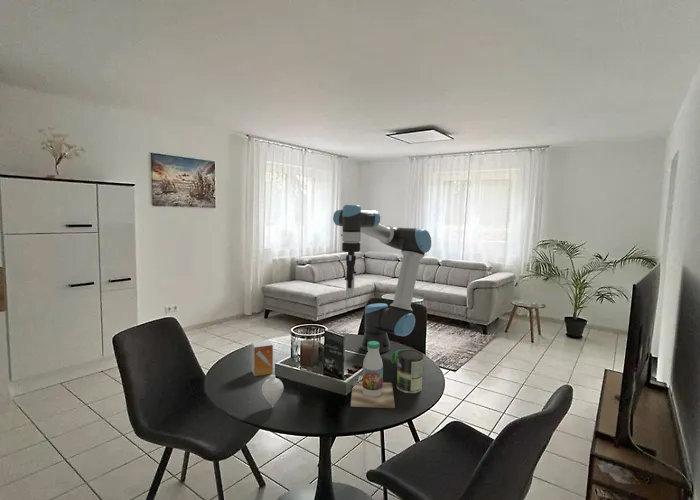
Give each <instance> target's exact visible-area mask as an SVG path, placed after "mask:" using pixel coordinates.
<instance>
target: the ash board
mask: <svg viewBox="0 0 700 500" xmlns="http://www.w3.org/2000/svg"><path fill="white" fill-rule="evenodd" d="M358 382H359V383H358V384H357V385H355V386H354V387H353V388H352V387H351V389H352V390H351V397H350V407H354V408H355V407H356V408H358V407H359V408H360V407H361V408H381V409H382V408H383V409H395V408H396V403H395V397H394V389H393V388H394V387H393V383H392V382H383V387H382V394H381V395H380V396H377V397H369V396H366V395H364V394H363V392H362V383H363V381H358Z"/></svg>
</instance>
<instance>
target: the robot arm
mask: <svg viewBox="0 0 700 500" xmlns="http://www.w3.org/2000/svg"><path fill="white" fill-rule="evenodd" d="M332 220H333V223H334V224H335V225H336V226H338V227H339V226H340V227H342V233H341V234H340V236H341V237H342V244H341V251H342V252H343V253H347V255H346V256H345V262H346V263H345V264H346V276H345V277H344V280H345V281H346V284H345V286H346V288H345V290H346V291H345V293H346V294H345V295H346V296H347V297H353V296H354V290H355V275H356V274H357V271H356V269H355V264H356V260H357V256H356V254H355V253H360V251H361V243H360V242H361V234H364V235H366V236H368V237H371V238H374V239H377V240H379V242H380V243H381V244H384V245H386V246H388V247H390V248H393V249H395V250H400V251H401V254H402V261H401V266H400V269H399V275H398V280H397V284H396V289H395V293H394V296H393V297H394V298H393V301H392V303H390V304H389V305H388V304H387V303H383V302H382V303H379V302H378V303H371V304H368V305H366V306H365V310H364V334H363V337H362V339H361V342H360V348H361V350H363V351H364V350H365V352H367V351H368V348H367V347H368V346H367V343H368V342H369V341H377V342H379V354H380V353H381V354H382V353H386V352H389V351H390V350H391V342H390V339H389V336H388V334H389V333H390V334H392V335H395V336H400V337H407V336H409V335H410V334H411V333H412V331H413V330H414V329H415V326H416V316H415V314H413V312H414V310H413V308H412V307H411V305H412V301H413V295H414V292H415V287H416V281H417V277H418V272H419V267H420V263H421V259H423V258H425V253H426V254H427V253H429V252H430V251H431V248H432V237H431V235H430V232H429V231H428V230H427V229H424V228H419V227H417V228H416V227H415V228H413V227H412V228H411V227H394V226H390V225H383V224H381V223H380V222H381V215H380V212H378V211H377V210H375V209H374V210H373V209H362V206H361V205H360V204H344V205H343V207H342V209H337V210H335V212H334V213H333V216H332Z"/></svg>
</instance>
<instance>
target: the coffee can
mask: <svg viewBox="0 0 700 500" xmlns="http://www.w3.org/2000/svg"><path fill="white" fill-rule="evenodd" d="M400 350H401V351H399V352H398V365H397V364H396V369H397V371H396V388H397V390H398V391H400V392H403V393H405V394H417V393H420V392H421V391H422V390H423V389H422V388H423V372H422V368H423V367H424V353H422V352H421V351H419V350H415V349H409V350H402V349H400Z"/></svg>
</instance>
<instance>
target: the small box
mask: <svg viewBox="0 0 700 500" xmlns="http://www.w3.org/2000/svg"><path fill="white" fill-rule="evenodd" d="M273 352H274V344H273V343H272V342H271V340H263V341H256V342H251V372H252V374H253V376H254V377H258V376H265V375H274V374H273V372H274V370H273V369H274V367H273V366H274V364H273V362H274V361H273V360H274V353H273Z"/></svg>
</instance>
